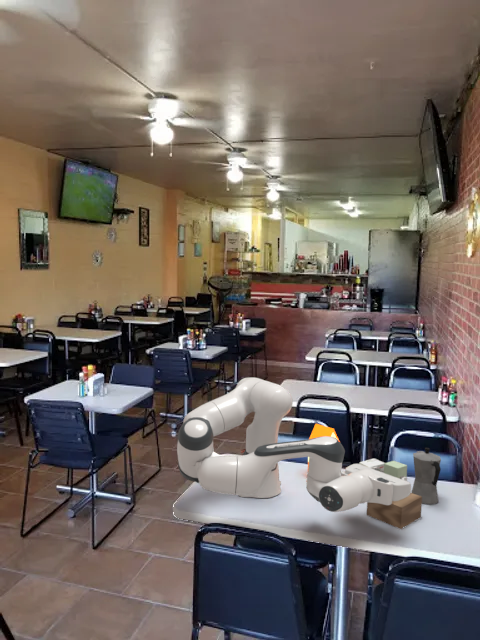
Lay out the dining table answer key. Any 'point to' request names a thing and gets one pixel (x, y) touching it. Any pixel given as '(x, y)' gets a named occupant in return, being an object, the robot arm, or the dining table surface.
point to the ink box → (373, 464)
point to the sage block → (395, 469)
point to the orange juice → (322, 433)
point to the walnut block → (397, 511)
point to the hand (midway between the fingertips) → (391, 474)
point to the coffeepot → (426, 476)
